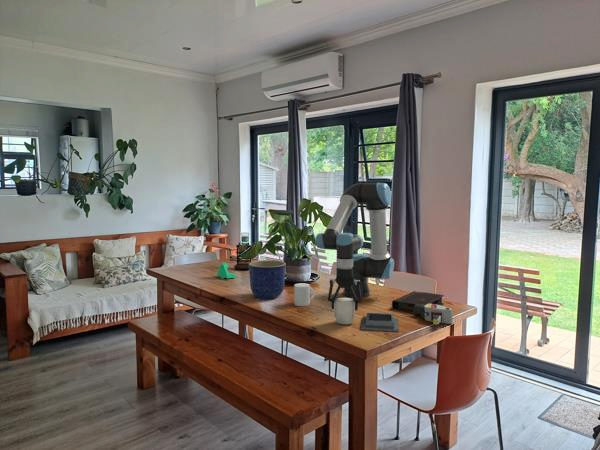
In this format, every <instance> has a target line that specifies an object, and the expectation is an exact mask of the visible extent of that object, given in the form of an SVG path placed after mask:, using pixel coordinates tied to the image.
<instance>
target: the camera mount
mask: <svg viewBox="0 0 600 450" xmlns="http://www.w3.org/2000/svg"><path fill="white" fill-rule="evenodd" d="M228 269H229V264H228V263H227V262H224V263H221V264H220V265H219V268H218V270H217V272H216V276H217V277H219V278H220V277H222V278H227V280H228V279H232V278H233V279H234V278H236V277H237V274H236V273H232V272H229V271H228ZM222 278H221V279H222Z"/></svg>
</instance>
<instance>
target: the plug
mask: <svg viewBox="0 0 600 450" xmlns="http://www.w3.org/2000/svg"><path fill="white" fill-rule="evenodd" d="M335 301H336V317H335V322H336V323H337V324H341V325H351V324H353V323H354V318H353V303H354V300H353V298H352V297H339V298H336V299H335Z"/></svg>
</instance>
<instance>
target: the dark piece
mask: <svg viewBox="0 0 600 450" xmlns="http://www.w3.org/2000/svg"><path fill="white" fill-rule="evenodd" d="M249 247H251V248H252V245H251V244H250V242H247V244H241V242H238V244H236V252H235V253H236V264H235V265H233V268H234V269H235V270H236V271H238V270H249V263H251V262H252V258H251V259H250V260H242V259H240V258H239V255H240V254H241V253H242V252H244V251H245V250H247V249H248V248H249Z"/></svg>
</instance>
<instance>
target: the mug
mask: <svg viewBox="0 0 600 450" xmlns="http://www.w3.org/2000/svg"><path fill="white" fill-rule="evenodd" d="M315 293H316V292H315V291H314V289H313V288H312V286H311V284H309V283H304V282H303V283H301V282H300V283H295V284H294V285H293V294H294V295H293V304H294V306H297V307H307V306H309V305H310V304H311V303H310V302H311V301H312V300H313V299H314V298H315V297H316V294H315Z"/></svg>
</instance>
